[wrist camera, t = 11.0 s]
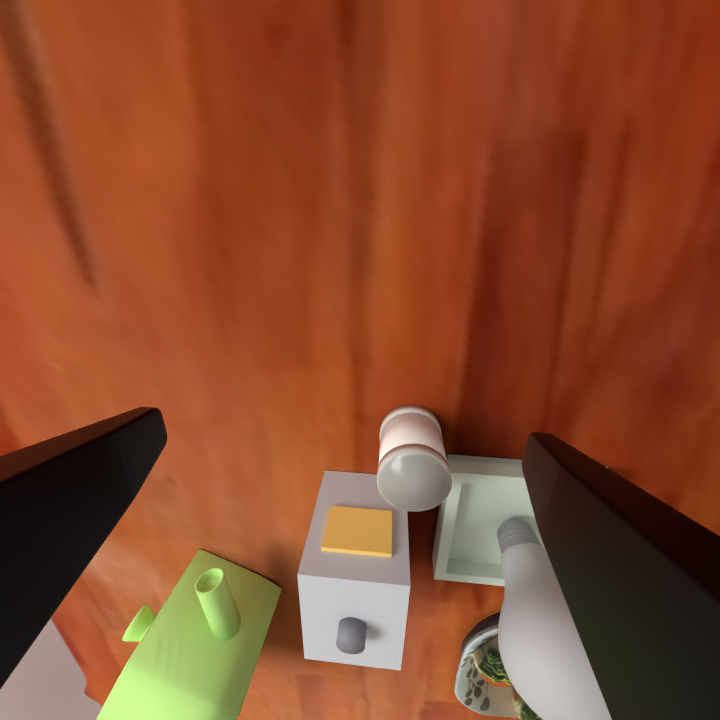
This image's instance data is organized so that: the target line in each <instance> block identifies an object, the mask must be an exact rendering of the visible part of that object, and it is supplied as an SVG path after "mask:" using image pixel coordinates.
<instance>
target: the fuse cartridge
mask: <svg viewBox="0 0 720 720" xmlns="http://www.w3.org/2000/svg"><path fill="white" fill-rule="evenodd" d="M377 487H378V490H379V492H380V494H381V496H382V497H383V498H384V499H385V500H386V501H387V502H388V503H389V504H391V505H392V506H394V507H396V508H399V509H402V510H406V511H425V510H429V509H432V508H434V507H436V506H438V505H439V504H441V503H442V502H443V501H444V500H445V499H446V498H447V497H448V495H449V493H450V491H451V488H452V478H451V473H450V469H449V465H448V463H447V459H446V455H445V450H444V445H443V441H442V433H441V428H440V424H439V421H438V420H437V418H436V417H435V415H434V414H433V413H431V412H430V411H429V410H427V409H425V408H423V407H419V406H414V405H406V406H401V407H398V408H396V409H394V410H392V411H390V412H389V413H388V414H387V415H386V416H385V417H384V419H383V421H382V423H381V427H380V453H379V465H378V472H377Z"/></svg>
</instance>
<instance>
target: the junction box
mask: <svg viewBox="0 0 720 720" xmlns="http://www.w3.org/2000/svg"><path fill="white" fill-rule="evenodd" d="M297 576H298V588H299V600H300V611H301V623H302V634H303V646H304V658H305V659H311V660H319V661H328V662H336V663H344V664H352V665H360V666H369V667H377V668H385V669H393V670H401V662H402V654H403V645H404V637H405V628H406V620H407V611H408V603H409V594H410V563H409V538H408V514H407V511H406V510H402V509H399V508H396V507H394V506H392V505H391V504H389V503H388V502H387V501H386V500H385V499H384V498H383V497H382V496H381V494H380V492H379V490H378V487H377V475H376V474H364V473H351V472H338V471H325V472H324V476H323V480H322V484H321V487H320V491H319V495H318V499H317V502H316V506H315V510H314V514H313V517H312V521H311V525H310V529H309V532H308V536H307V540H306V544H305V547H304V551H303V555H302V559H301V562H300V566H299V570H298V574H297Z"/></svg>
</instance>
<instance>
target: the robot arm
mask: <svg viewBox="0 0 720 720" xmlns="http://www.w3.org/2000/svg"><path fill="white" fill-rule="evenodd" d="M166 442H167V432H166V428H165V424H164V421H163V417H162V413H161V411H160V410H159V409H158V408H152V407H140V408H137V409H134V410H131V411H128V412H125V413H122V414H119V415H117V416H114V417H111V418H108V419H105V420H102V421H99V422H97V423H94V424H91V425H88V426H85V427H82V428H80V429H77V430H74V431H71V432H68V433H65V434H62V435H60V436H57V437H54V438H51V439H48V440H45V441H43V442H40V443H37V444H34V445H31V446H28V447H25V448H23V449H20V450H17V451H14V452H11V453H8V454H5V455H3V456H0V689H1V688H2V686H3V685H4V683H5V682H6V681H7V679H8V678H9V676H10V675H11V674H12V672H13V671H14V669H15V668H16V666H17V665H18V664H19V662H20V661H21V659H22V658H23V656H24V655H25V654H26V652H27V651H28V649H29V648H30V646H31V645H32V644H33V642H34V641H35V639H36V638H37V637H38V635H39V634H40V632H41V631H42V630H43V628H44V627H45V625H46V624H47V622H48V621H49V620H50V618H51V617H52V615H53V614H54V612H55V611H56V610H57V608H58V607H59V605H60V604H61V603H62V601H63V600H64V598H65V597H66V595H67V594H68V593H69V591H70V590H71V588H72V587H73V585H74V584H75V583H76V581H77V580H78V578H79V577H80V576H81V574H82V573H83V571H84V570H85V568H86V567H87V566H88V564H89V563H90V561H91V560H92V559H93V557H94V556H95V554H96V553H97V551H98V550H99V549H100V547H101V546H102V544H103V543H104V541H105V540H106V539H107V537H108V536H109V534H110V533H111V532H112V530H113V529H114V527H115V526H116V524H117V523H118V522H119V520H120V519H121V517H122V516H123V514H124V513H125V512H126V510H127V509H128V507H129V506H130V504H131V503H132V501H133V500H134V498H135V497H136V495H137V493H138V492H139V490H140V489H141V487H142V485H143V483H144V482H145V480H146V478H147V476H148V475H149V473H150V471H151V469H152V468H153V466H154V464H155V462H156V461H157V459H158V457H159V455H160V454H161V452H162V450H163V448H164V447H165V445H166ZM522 471H523V475H524V479H525V482H526V486H527V490H528V494H529V497H530V501H531V505H532V509H533V512H534V516H535V520H536V523H537V527H538V530H539V533H540V536H541V539H542V542H543V544H544V547H545V550H546V552H547V555H548V557H549V560H550V562H551V565H552V568H553V570H554V573H555V575H556V578H557V580H558V583H559V585H560V588H561V591H562V593H563V596H564V598H565V601H566V603H567V606H568V609H569V611H570V614H571V616H572V619H573V621H574V624H575V627H576V629H577V632H578V634H579V637H580V639H581V642H582V644H583V647H584V650H585V652H586V655H587V657H588V660H589V662H590V665H591V668H592V670H593V673H594V675H595V678H596V680H597V683H598V686H599V688H600V691H601V693H602V696H603V698H604V701H605V704H606V706H607V709H608V711H609V714H610V716H611V719H612V720H720V536H718V535H717V534H715V533H713V532H712V531H710V530H709V529H707V528H705V527H704V526H702V525H700V524H699V523H697V522H695V521H694V520H692V519H690V518H689V517H687V516H685V515H684V514H682V513H681V512H679V511H677V510H676V509H674V508H672V507H671V506H669V505H667V504H666V503H664V502H662V501H661V500H659V499H657V498H656V497H654V496H653V495H651V494H649V493H648V492H646V491H644V490H643V489H641V488H639V487H638V486H636V485H634V484H633V483H631V482H629V481H628V480H626V479H625V478H623V477H621V476H620V475H618V474H616V473H615V472H613V471H611V470H610V469H608V468H606V467H605V466H603V465H602V464H600V463H598V462H597V461H595V460H593V459H592V458H590V457H588V456H587V455H585V454H583V453H582V452H580V451H578V450H577V449H575V448H574V447H572V446H570V445H569V444H567V443H565V442H564V441H562V440H560V439H559V438H557V437H555V436H554V435H552V434H550V433H540V432H532V433H531V434H530V435H529V437H528V440H527V443H526V447H525V451H524V455H523V459H522Z"/></svg>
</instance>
